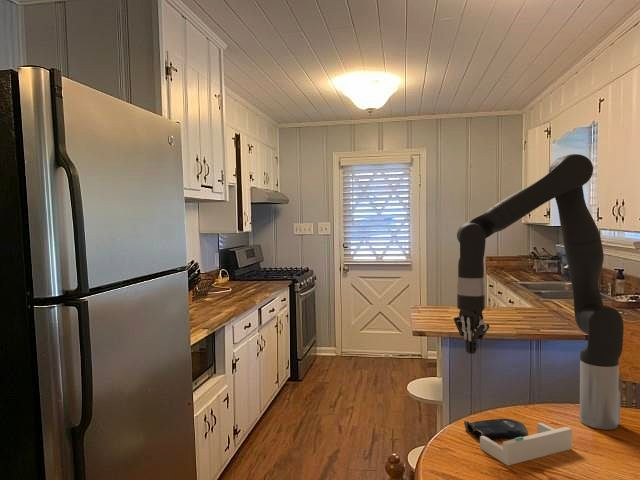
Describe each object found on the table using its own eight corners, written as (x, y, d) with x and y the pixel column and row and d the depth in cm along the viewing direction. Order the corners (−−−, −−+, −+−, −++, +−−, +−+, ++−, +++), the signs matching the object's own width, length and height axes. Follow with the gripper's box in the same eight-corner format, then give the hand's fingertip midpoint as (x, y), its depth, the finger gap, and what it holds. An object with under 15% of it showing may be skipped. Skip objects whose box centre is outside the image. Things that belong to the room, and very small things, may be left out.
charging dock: (541, 433, 126) (541, 413, 126) (571, 448, 118) (571, 427, 117) (479, 448, 118) (479, 426, 118) (507, 465, 110) (507, 442, 110)
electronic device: (484, 451, 120) (535, 437, 123) (480, 429, 121) (531, 415, 124) (466, 440, 129) (514, 427, 132) (462, 420, 130) (510, 407, 133)
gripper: (498, 295, 131) (497, 357, 131) (466, 289, 143) (466, 346, 143) (476, 297, 128) (476, 360, 128) (445, 290, 140) (445, 349, 141)
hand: (470, 353), depth 136 cm, fingers closed
